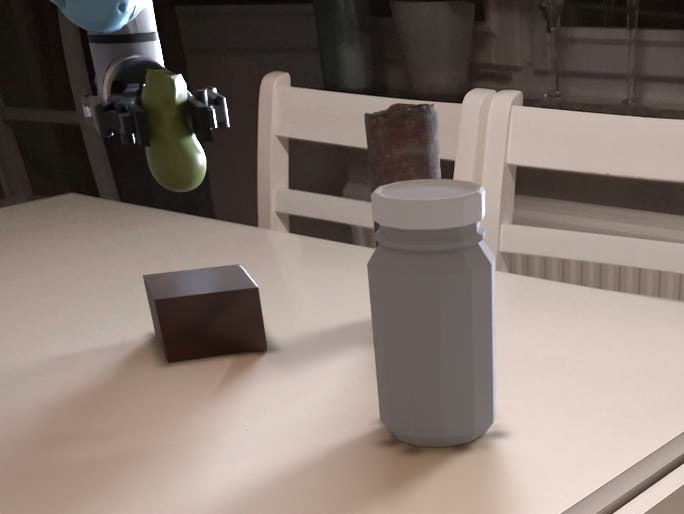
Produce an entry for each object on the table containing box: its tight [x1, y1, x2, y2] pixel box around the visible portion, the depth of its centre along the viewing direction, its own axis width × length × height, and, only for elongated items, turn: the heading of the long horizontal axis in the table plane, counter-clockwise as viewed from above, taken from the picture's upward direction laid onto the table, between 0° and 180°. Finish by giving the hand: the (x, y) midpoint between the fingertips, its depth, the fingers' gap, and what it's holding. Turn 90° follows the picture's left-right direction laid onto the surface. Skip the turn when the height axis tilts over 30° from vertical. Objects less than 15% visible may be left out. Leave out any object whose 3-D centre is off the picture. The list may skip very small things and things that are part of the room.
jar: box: [366, 178, 498, 448], centre depth 79 cm, size 10×10×18 cm
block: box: [142, 263, 268, 364], centre depth 102 cm, size 10×10×6 cm
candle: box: [363, 102, 442, 249], centre depth 103 cm, size 8×7×20 cm
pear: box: [142, 68, 207, 193], centre depth 94 cm, size 6×5×10 cm
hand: (174, 126), depth 89 cm, fingers closed on pear, 5 cm apart
